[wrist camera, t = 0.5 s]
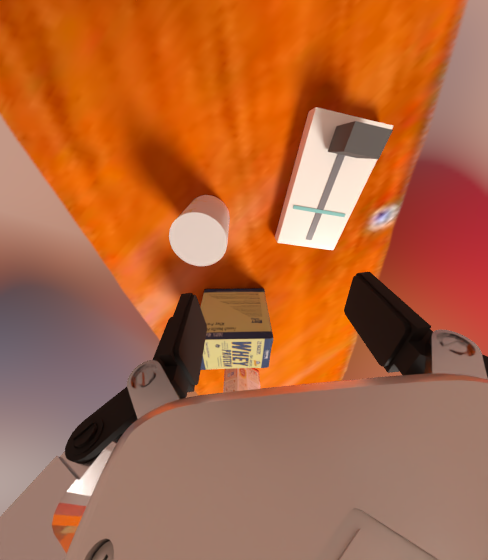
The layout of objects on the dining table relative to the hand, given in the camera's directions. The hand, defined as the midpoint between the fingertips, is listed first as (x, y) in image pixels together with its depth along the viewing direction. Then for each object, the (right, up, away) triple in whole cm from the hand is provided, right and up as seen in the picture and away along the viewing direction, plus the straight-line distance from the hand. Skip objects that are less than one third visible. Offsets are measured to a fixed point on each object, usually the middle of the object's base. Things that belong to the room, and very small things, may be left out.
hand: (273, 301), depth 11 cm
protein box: (-4, -5, +38) cm, 39 cm away
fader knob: (+14, +22, +16) cm, 30 cm away
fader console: (+12, +18, +23) cm, 31 cm away
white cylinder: (-9, +14, +25) cm, 30 cm away
